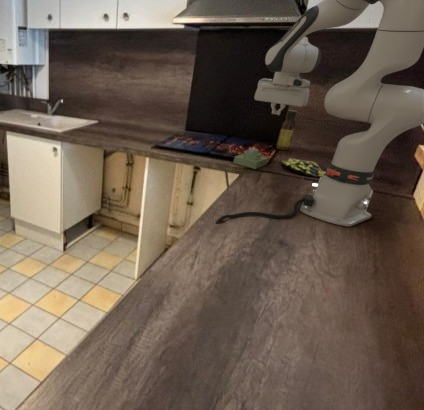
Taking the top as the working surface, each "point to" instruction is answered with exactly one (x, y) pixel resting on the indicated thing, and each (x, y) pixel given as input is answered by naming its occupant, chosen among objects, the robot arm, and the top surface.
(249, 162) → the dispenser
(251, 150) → the pump
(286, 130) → the sauce bottle
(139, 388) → the top surface
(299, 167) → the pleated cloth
